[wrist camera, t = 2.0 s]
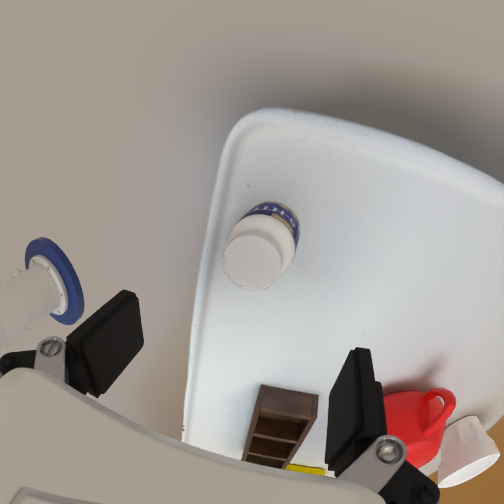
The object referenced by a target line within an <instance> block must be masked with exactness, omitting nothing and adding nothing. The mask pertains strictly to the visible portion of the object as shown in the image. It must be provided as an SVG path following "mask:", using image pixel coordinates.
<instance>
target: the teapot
mask: <svg viewBox="0 0 504 504" xmlns="http://www.w3.org/2000/svg"><path fill="white" fill-rule="evenodd" d="M437 396H440V397H442V398H443V400H444V406H443V404H442V402H441V401H440V399H439V398H438V397H437ZM383 399H384V406H385V414H386V423H387V433H388V435H392V436H396V437H398V438H399V439H401V440H402V441H403V442H404V444H405V446H406V449H407V456H406V460H407V461H408V462H409V463H411V464H412V465H413V466H414V467H416V468H417V469H418V468H420V467H421V466H423V465H425V464H426V463H428V462H429V461H431V460H432V459H433V458H434V457H435V456H436V455H437V453H438V451H439V448H440V445H441V442H442V438H443V434H444V430H445V426H446V420H447V419H448V417H449V416H450V415H451V414H452V412H453V410H454V408H455V406H456V398H455V396H454V395H453V393H452V392H451V391H449V390H447V389H444V388H437V389H431V390H430V391H428V392H427V393H426V392H423V391H402V392H398V393H394V394H390V395H386V396H384V397H383Z"/></svg>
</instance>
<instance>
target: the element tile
mask: <svg viewBox="0 0 504 504" xmlns="http://www.w3.org/2000/svg"><path fill="white" fill-rule="evenodd" d="M285 470H289V471H295V472H301V473H308V474H314V475H321V476H325V471H324V470H323V469H319V468H312V467H305V466H298V465H292V464H288V466H287V467H286V469H285Z"/></svg>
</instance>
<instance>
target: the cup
mask: <svg viewBox="0 0 504 504" xmlns="http://www.w3.org/2000/svg"><path fill="white" fill-rule="evenodd" d="M499 456H500V453H499V451H498V449H497V447H496V445H495V443H494V441H493V439H491V438H490V437H489V436H488V435H487V433H486V432H485V430H484V428H483V427H482V425H481V423H480V422H479V419H478V417H477V416H467V417H464V418H462V419H460V420H458V421H456V422H454V423H452V424H451V425H450V426H448V427H447V428H446V429H445V430H444V434H443V438H442V442H441V462H440V465H439V469H438V470H439V471H438V488H447V487H452V486H455V485H457V484H460V483H463V482H465V481H467V480H469V479H471V478H473V477H475V476H476V475H478V474H480V473H482V472H483V471H485V470H486V469H487V468H489V467H490V466H491V465H493V464H494V463H495V462H496V461H497V460H498V458H499Z"/></svg>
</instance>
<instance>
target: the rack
mask: <svg viewBox="0 0 504 504" xmlns="http://www.w3.org/2000/svg"><path fill="white" fill-rule="evenodd" d="M318 398H319V395H313V394H307V393H301V392H295V391H290V390H285V389H280V388H275V387H270V386H265V385H261V387H260V390H259V394H258V397H257V401H256V404H255V408H254V412H253V416H252V420H251V424H250V428H249V432H248V436H247V440H246V444H245V448H244V452H243V455H242V459H241V461H245V462H249V463H254V464H258V465H263V466H268V467H273V468H278V469H283V470H285V469H286V467H287V466H288V464H289V463H290V461H291V460H292V458H293V457H294V455H295V454H296V452H297V450H298V449H299V447H300V446H301V444H302V442H303V441H304V439H305V437H306V436H307V434H308V432H309V431H310V429H311V427H312V426H313V424H314V422H315V420H316V418H317V412H318Z"/></svg>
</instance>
